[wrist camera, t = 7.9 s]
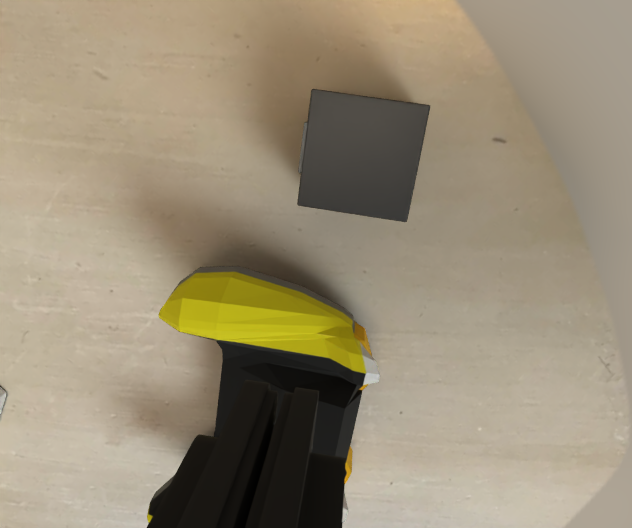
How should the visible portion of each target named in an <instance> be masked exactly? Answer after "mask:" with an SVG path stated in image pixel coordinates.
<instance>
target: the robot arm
mask: <svg viewBox="0 0 632 528" xmlns="http://www.w3.org/2000/svg"><path fill="white" fill-rule="evenodd" d="M318 397H319V391H317V390H310V389H304V388H297V387H296V388H295V390H294V394H292V393H286V392H285V394H284V397H283V400H282V404H281V407H280V411H279V414H278V417H277V421H276V413H277V402H278V391H273V390H270V383H264V382H257V381H250V380H245V382H244V384H243V386H242V388H241V390H240V392H239V394H238V397H237V399H236V401H235V403H234V405H233V407H232V410H231V412H230V414H229V416H228V418H227V420H226V422H225V425H224V427H223V429H222V431H221V433H220V435H219V438H218V437H211V436H205V435H198V436H196V438H195V439H194V441H193V443H192V444H191V446H190V448H189V450H188V452H187V454H186V456H185V457H184V459H183V461H182V463H181V465H180V467H179V469H178V470H177V472H176V474H175V476H174V478H173V480H172V482H171V483H170V485H169V487H168V489H167V491H166V493H165V495H164V496H163V498H162V500H161V502H160V504H159V506H158V508H157V509H156V511H155V513H154V515H153V517H152V519H151V521H150V523H149V524H148V526H147V528H342V518H343V501H344V483H345V465H346V458H343V457H337V456H330V455H324V454H318V453H312V446H313V438H314V430H315V422H316V414H317V405H318Z"/></svg>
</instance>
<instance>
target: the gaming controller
mask: <svg viewBox="0 0 632 528" xmlns="http://www.w3.org/2000/svg"><path fill="white" fill-rule="evenodd" d="M159 318H160V319H162V320H163V321H165V322H166V323H168V324H169V325H170V326H172V327H173V328H175V329H176V330H178V331H179V332H183V333H187V334H191V335H195V336H199V337H203V338H207V339H211V340H215V341H217V343H218V344H219V346H220V347H221V348H222V352H223V364H222V373H221V382H220V391H219V400H218V409H217V418H216V427H215V433H214V437H218V438H219V435H220V433H221V431H222V429H223V427H224V425H225V422H226V420H227V418H228V416H229V414H230V412H231V410H232V407H233V405H234V403H235V401H236V399H237V397H238V394H239V392H240V390H241V388H242V386H243V384H244V382H245V380H250V381H257V382H264V383H270V390H273V391H278V402H277V413H276V421H277V417H278V414H279V411H280V407H281V404H282V400H283V397H284V394H285V392H286V393H292V394H294V390H295V388H296V387H297V388H304V389H310V390H317V391H319V397H318V405H317V414H316V422H315V430H314V438H313V446H312V453H318V454H324V455H330V456H337V457H343V458H346V465H345V483H346V482H347V480H348V478H349V476H350V474H351V472H352V449H351V447H350V443H351V439H352V434H353V430H354V426H355V421H356V417H357V412H358V408H359V403H360V399H361V394H362V390H363V389H364V388H365V387H366V386H367V385H368V384H372V383H378V382H379V377H380V373H379V370H378V366H377V363H376V361H375V360H374V359H373V357H372V354H371V350H370V346H369V343H368V339H367V335H366V331H365V328H363V327H362V326H360V325H359V324H357V322H355V321H354V318H353V315H352V314H350V313H349V312H348V311H347V310H345V309H344V308H343V307H341V306H339V305H337V304H336V303H334V302H332V301H330V300H328V299H326V298H324V297H322V296H320V295H318V294H316V293H314V292H313V291H311V290H309V289H307V288H305V287H303V286H300V285H297V284H294V283H290V282H287V281H284V280H281V279H278V278H275V277H272V276H269V275H265V274H262V273H259V272H256V271H253V270H250V269H247V268H244V267H241V266H229V267H200V268H198V269H197V270H196V271H194V272H193V273H192V274H190V275H189V276H187V277H186V278H185V279H183V280H182V281H181V282H180V283H179V284H178V286H177V287H176V288H175V290H174V291H173V293H172V294H171V296H170V297H169V299H168V300H167V302H166V303H165V305H164V306H163V307H162V308H161V310H160V312H159ZM174 476H175V475H174ZM174 476H173V477H172V478H171V479H170V480H169V481H168V482H166V483H165V484H164V485H163V486H162V487H161V488H160V489H159V490H158V491H156V493H155V494H154V496H153V498H152V500H151V502H150V506H149V510H148V515H147V519H148V522H149V523H150V521H151V519H152V517H153V515H154V513H155V511H156V509H157V508H158V506H159V504H160V502H161V500H162V498H163V496H164V495H165V493H166V491H167V489H168V487H169V485H170V483H171V482H172V480H173V478H174ZM345 483H344V484H345ZM347 513H348V508H347V503H346V498H345V493H344V501H343V518H342V523H343V522H345V520H346V517H347Z"/></svg>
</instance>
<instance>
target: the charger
mask: <svg viewBox="0 0 632 528" xmlns="http://www.w3.org/2000/svg"><path fill="white" fill-rule="evenodd" d="M429 111H430V105H425V104H418V103H410V102H403V101H396V100H389V99H382V98H375V97H367V96H360V95H353V94H346V93H339V92H332V91H325V90H317V89H312V90H311V98H310V106H309V114H308V122H305V123H304V129H303V137H302V145H301V153H300V162H299V170H298V172H299V173H301V179H300V187H299V195H298V203H297V204H298V206H304V207H311V208H317V209H324V210H330V211H337V212H343V213H350V214H356V215H363V216H369V217H375V218H382V219H388V220H395V221H401V222H407V219H408V214H409V209H410V204H411V199H412V194H413V189H414V184H415V180H416V175H417V170H418V165H419V160H420V155H421V150H422V145H423V140H424V135H425V130H426V125H427V120H428V115H429Z"/></svg>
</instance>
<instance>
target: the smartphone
mask: <svg viewBox="0 0 632 528" xmlns="http://www.w3.org/2000/svg"><path fill="white" fill-rule="evenodd" d="M5 398H6V392H5V391H4V390H3V389H2V388H1V387H0V414H1V411H2V408H3V405H4V401H5Z"/></svg>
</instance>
